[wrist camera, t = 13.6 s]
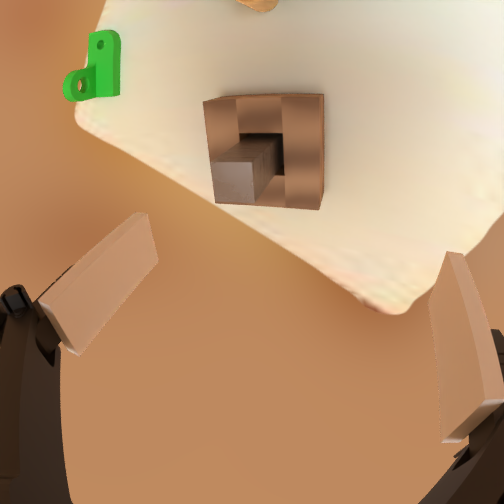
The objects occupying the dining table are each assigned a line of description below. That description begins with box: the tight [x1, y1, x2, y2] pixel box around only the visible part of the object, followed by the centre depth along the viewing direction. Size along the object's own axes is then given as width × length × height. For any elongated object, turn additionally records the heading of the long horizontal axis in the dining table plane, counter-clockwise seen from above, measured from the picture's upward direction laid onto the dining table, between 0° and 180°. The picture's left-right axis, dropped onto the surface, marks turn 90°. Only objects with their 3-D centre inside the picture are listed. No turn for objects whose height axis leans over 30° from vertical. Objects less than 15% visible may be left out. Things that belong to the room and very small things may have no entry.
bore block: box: [203, 94, 324, 210], centre depth 38 cm, size 14×14×6 cm
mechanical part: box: [63, 30, 121, 102], centre depth 37 cm, size 12×6×8 cm, turn 175°
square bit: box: [210, 133, 284, 203], centre depth 34 cm, size 4×4×15 cm
